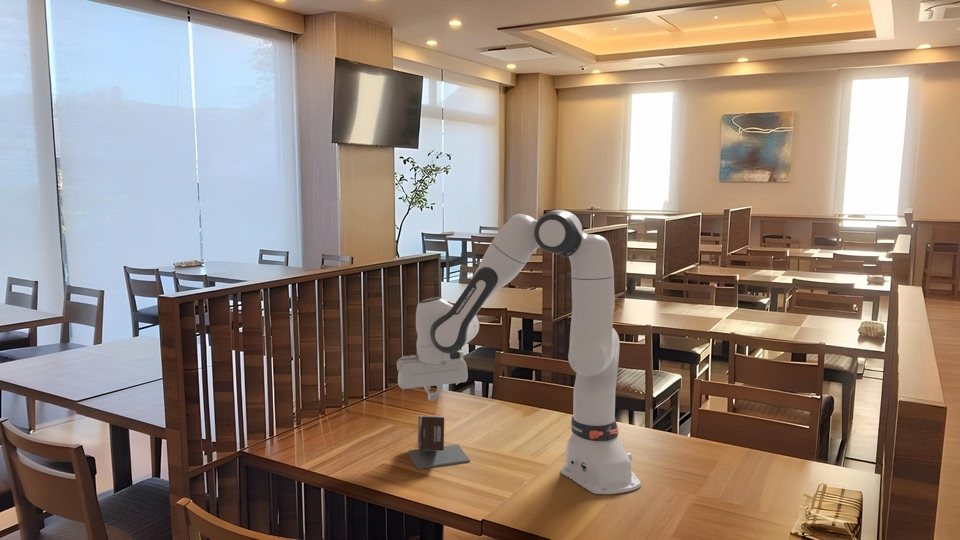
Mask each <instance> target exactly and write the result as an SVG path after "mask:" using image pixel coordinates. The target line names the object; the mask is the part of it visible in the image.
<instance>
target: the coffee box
mask: <svg viewBox="0 0 960 540" xmlns="http://www.w3.org/2000/svg"><path fill="white" fill-rule="evenodd" d="M444 444H445V417H442V416H440V415H420V414H419V416H418V421H417V445H416V446H417V448H419V449H421V450H431V451H441V450H444V446H445V445H444Z"/></svg>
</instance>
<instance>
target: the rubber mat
mask: <svg viewBox="0 0 960 540" xmlns="http://www.w3.org/2000/svg"><path fill="white" fill-rule="evenodd" d="M408 455H409V457H410V458H411V460H412V462H413V464H414V466H415V468H416V469H417V470H421V469H422V470H423V469H429V468H430V469H431V468H438V467H444V466H451V465H458V464H465V463H471V459H470V458H469V456H467V455H466V453H465V451H464V450H463V449H462V447H461V446H460V445H459V444H458V443H457V444H449V445H444V450H441V451H431V450H421V449H420V448H419V449H412V450H411V449H410V450H408Z"/></svg>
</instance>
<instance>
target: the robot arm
mask: <svg viewBox="0 0 960 540" xmlns="http://www.w3.org/2000/svg"><path fill="white" fill-rule="evenodd" d="M539 248H541V249H542V250H543V251H546V252H548V253H550V254H554V255H558V256H561V257H564V258H568V259H569V262H570V268H571V269H570V270H571V271H570V273H571V279H570V280H571V300H572V304H571V306H572V308H571V320H570V328H569V329H570V330H569V347H568V348H569V349H568V355H567V357H568V363H569V366H570V367H571V369H572V370H573V371H574V372H575V374H576V375H575V381H574V386H573V400H572V401H573V403H572V404H573V409H572V411H573V413H572V414H573V415H572V417H571V421H570V427H571V429H570V430H571V432H572V433H571V436H570V437H569V438H568V440H567V442H566V451H565V461H564V462H565V463H564V465H563V466H562V467H560V468H561V469H560V473H561V474H562V475H564V476H565V477H567V478H568V477H569V478H568V479H570V480H571V479H572V480H571V481H573V482H575V483H576V484H578V485H580V486H581V487H582V488H584V489H586V490H587V491H588V492H590V493H592V494H595V495H615V494H622V493H626V492H627V493H628V492H632V491H635V490H638V489H639V488H640V487H641V486H642V483H641V481H640V479H639V478H638V477H637V476H636V474H635V473H634V472H633V470H632V460H633V456H632V453H631V452H627V451H626V450H625V446H624V443H622V442H621V440H620V438H619V433H620V432H619V430H620V429H619V428H618V423H617V420H616V417H615V416H616V415H615V414H616V411H615V410H616V387H617V378H618V373H619V372H618V371H619V362H620V361H619V357H620V346H621V345H620V343H621V342H620V337H619V334H618V331H616V329H615V328H614V327H613V326H614V325H613V324H614V315H615V314H614V313H615V306H616V305H615V304H616V303H615V299H616V298H615V273H614V262H613V256H612V254H613V253H612V250H611V247H610V243H609V241H608V239H606V238H605V237H603V235H602V236H601V235H599V234H593V233H590V234H589V233H586V232H585V231H584V224H583V221H582V219H581V217H579V216H578V214H577V213H575V212H573V211H571V210H565V209H555V210H552V211H549V212H546V213H544V214H542V216H540V217H539V218H538V219H535V218H534V217H532V216H530V215H527V214H523V213H518V214H517V213H516V214H514V215H512V216H511V217H510V218H509V219H508V220H507V221H506V222H505V224H503V226H502V227H501V228H500V229H499V231H498V232H497V234H496V235H495V236H494V238H493V239H492V241H491V243H490V244H489V246H488V248H487V249H486V251H485V252H484V255H483V257H482V258H481V261H480V262H479V264H478V267H477V268H476V269H475V272H474V274H473V276H472V278H471V280H470V281H469V283H468V284H467V285H466V287H465V289H464V290H463V291H462V293H461V295H460V296H459V297H458V299H457V300H456V301H455V302H454V304H452V303H450V302H448V301H447V300H446V299H445V298H444V297H441V296H434V297H430V298H425V299H423V300H421V301H419V302H418V303H417V306H416V311H415V331H416V333H417V334H416V335H417V339H416V354H410V355H403V356H401V357H400V358H398V359H397V361H396V369H397V373H398V375H397V385H398V387H400V388H401V389H402V390H406V389H416V388H423V389H424V391H425V392H426V393H427V399H428V401H430V402H433V401H439V400H440V393H442V390H443V388H444V387H443V386H444V385H450V384H452V385H453V384H459V383H466V382H467V381H468V378H469V374H468V367H467V362H466V361H465V360H464V355H465V354H464V351H463V350H462V348H463V347H464V346H465V345H466V344H469V342H471V341H472V340H473V339H474V338H475V337H476V336H477V335H478V334H479V332H480V326H481V325H480V320H479V317H478V316H477V314H478V313H479V311H480V310H481V309H482V308H483V306H484V304H485V302H486V301H487V300H488V299H489V298H490V297H491V296H492V295H493V294H495V293H496V292H498V291H499V290H500V289H502V288H503V287H504V286H506V285H508V284H510V282H512V281H513V280H514V279H515V278H516V277H517V276H518V275H519V274H520V272H521V271H522V270H523V268H525V266H526V264H527V263H528V261H529V259H530V258H531V257H532V256H533V253H535V251H536V250H538V249H539ZM433 386H434V387H435V386H436V388H437V389H436V391H435V392H430V390H431V387H433Z"/></svg>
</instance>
